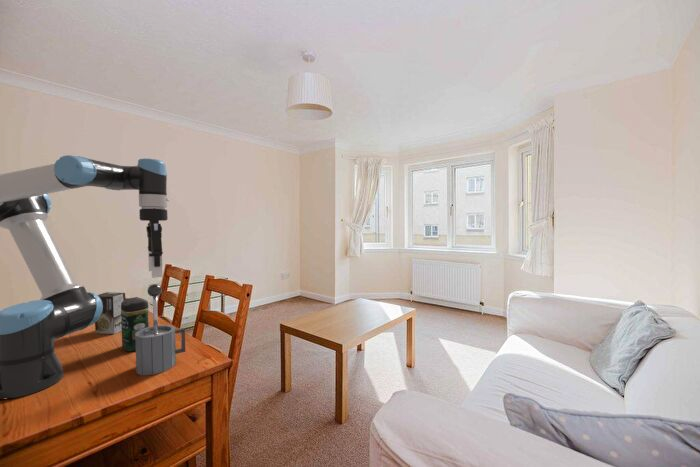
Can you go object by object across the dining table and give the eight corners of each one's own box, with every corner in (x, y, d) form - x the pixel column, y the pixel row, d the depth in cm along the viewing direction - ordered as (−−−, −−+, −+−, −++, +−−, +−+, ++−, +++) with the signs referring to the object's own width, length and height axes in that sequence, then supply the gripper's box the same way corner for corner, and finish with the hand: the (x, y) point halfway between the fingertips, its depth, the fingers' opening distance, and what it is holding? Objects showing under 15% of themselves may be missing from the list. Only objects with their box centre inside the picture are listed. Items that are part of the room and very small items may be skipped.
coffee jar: (119, 346, 113) (117, 298, 112) (143, 340, 119) (142, 294, 118) (127, 354, 107) (125, 303, 106) (152, 347, 113) (151, 298, 112)
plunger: (141, 343, 92) (140, 288, 91) (140, 335, 99) (139, 283, 98) (171, 337, 97) (170, 284, 96) (168, 329, 103) (167, 280, 103)
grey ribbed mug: (136, 378, 91) (135, 340, 90) (135, 364, 99) (134, 329, 99) (187, 365, 99) (187, 330, 99) (182, 353, 108) (182, 321, 107)
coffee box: (127, 328, 131) (126, 292, 130) (114, 334, 124) (113, 296, 123) (108, 327, 132) (107, 291, 131) (94, 333, 125) (93, 295, 124)
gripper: (172, 207, 88) (173, 278, 89) (163, 209, 108) (164, 267, 109) (141, 207, 84) (143, 281, 85) (137, 208, 103) (139, 269, 104)
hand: (155, 273), depth 97 cm, fingers open, 13 cm apart
